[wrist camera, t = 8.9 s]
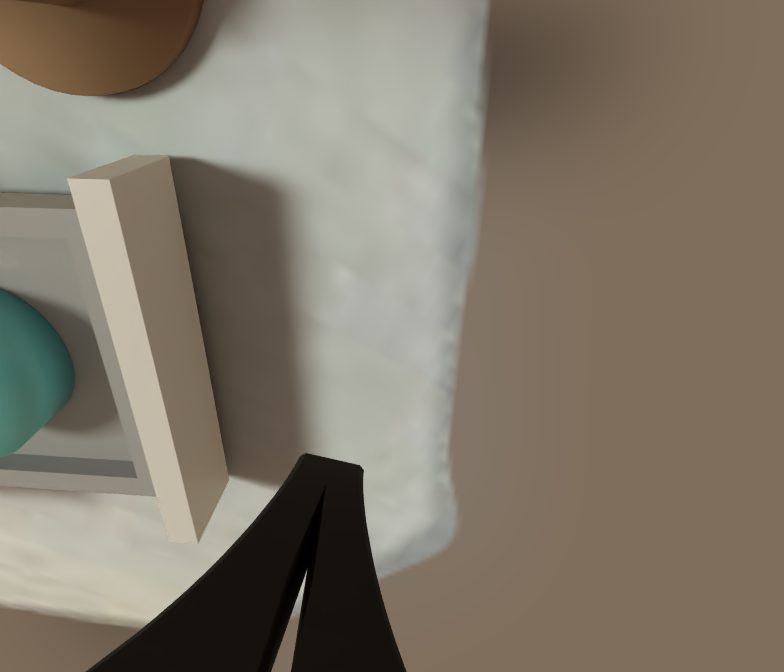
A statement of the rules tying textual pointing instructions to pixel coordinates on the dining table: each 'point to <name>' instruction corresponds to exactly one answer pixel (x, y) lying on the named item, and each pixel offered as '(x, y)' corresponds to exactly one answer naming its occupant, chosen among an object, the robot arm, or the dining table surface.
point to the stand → (94, 41)
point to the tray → (118, 343)
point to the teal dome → (29, 372)
